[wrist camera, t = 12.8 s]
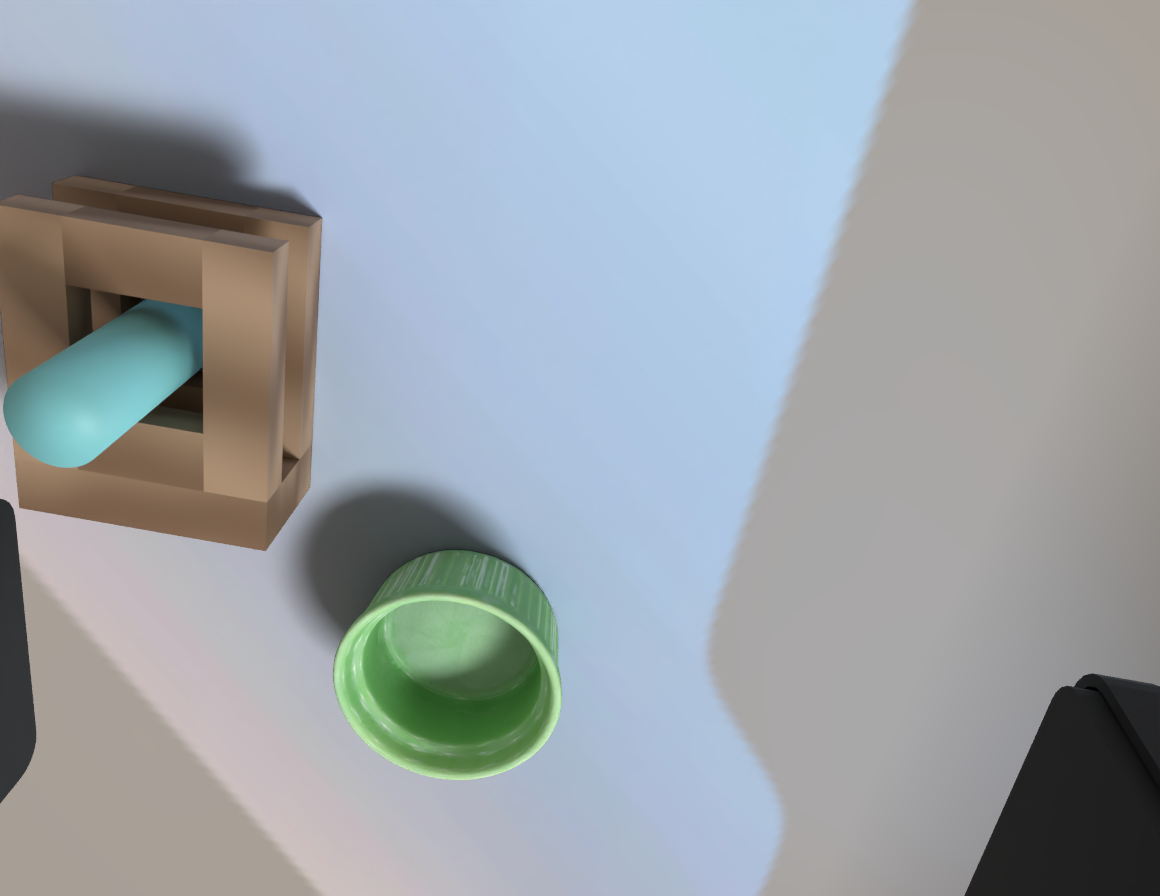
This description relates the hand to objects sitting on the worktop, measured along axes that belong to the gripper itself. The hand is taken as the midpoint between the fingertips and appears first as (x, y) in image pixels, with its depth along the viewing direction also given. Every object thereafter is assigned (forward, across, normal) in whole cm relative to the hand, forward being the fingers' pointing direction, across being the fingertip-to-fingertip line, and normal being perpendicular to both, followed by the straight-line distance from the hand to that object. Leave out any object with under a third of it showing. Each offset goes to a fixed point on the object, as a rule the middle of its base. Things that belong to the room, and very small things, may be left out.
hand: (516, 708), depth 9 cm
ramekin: (+29, +4, +20) cm, 35 cm away
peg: (+28, +15, +8) cm, 33 cm away
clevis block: (+28, +15, +8) cm, 33 cm away
